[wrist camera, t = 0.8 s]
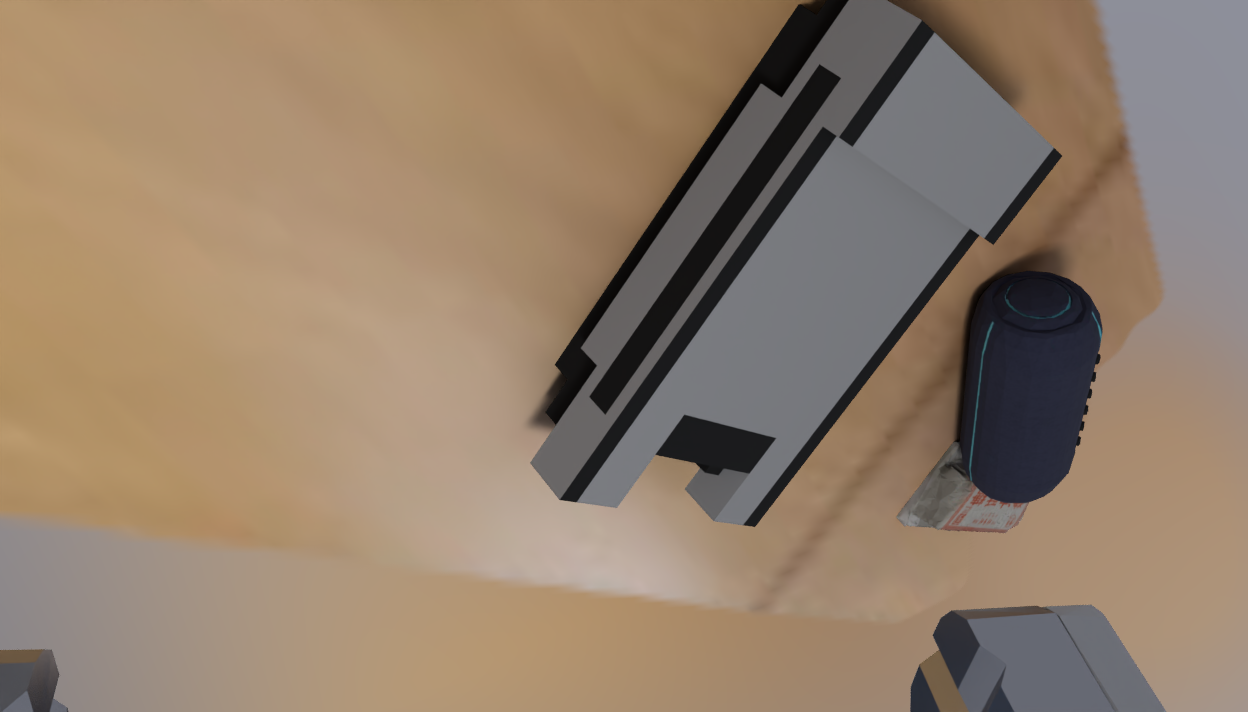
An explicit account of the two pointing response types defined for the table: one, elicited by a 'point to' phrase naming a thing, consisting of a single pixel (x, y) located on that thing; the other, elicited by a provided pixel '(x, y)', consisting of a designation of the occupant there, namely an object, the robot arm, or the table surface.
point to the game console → (789, 261)
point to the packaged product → (957, 501)
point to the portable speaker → (1027, 384)
